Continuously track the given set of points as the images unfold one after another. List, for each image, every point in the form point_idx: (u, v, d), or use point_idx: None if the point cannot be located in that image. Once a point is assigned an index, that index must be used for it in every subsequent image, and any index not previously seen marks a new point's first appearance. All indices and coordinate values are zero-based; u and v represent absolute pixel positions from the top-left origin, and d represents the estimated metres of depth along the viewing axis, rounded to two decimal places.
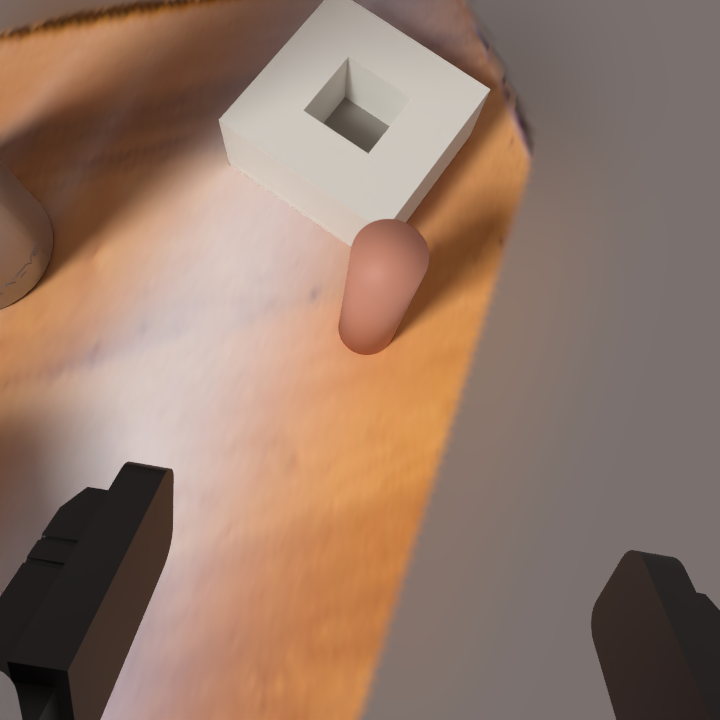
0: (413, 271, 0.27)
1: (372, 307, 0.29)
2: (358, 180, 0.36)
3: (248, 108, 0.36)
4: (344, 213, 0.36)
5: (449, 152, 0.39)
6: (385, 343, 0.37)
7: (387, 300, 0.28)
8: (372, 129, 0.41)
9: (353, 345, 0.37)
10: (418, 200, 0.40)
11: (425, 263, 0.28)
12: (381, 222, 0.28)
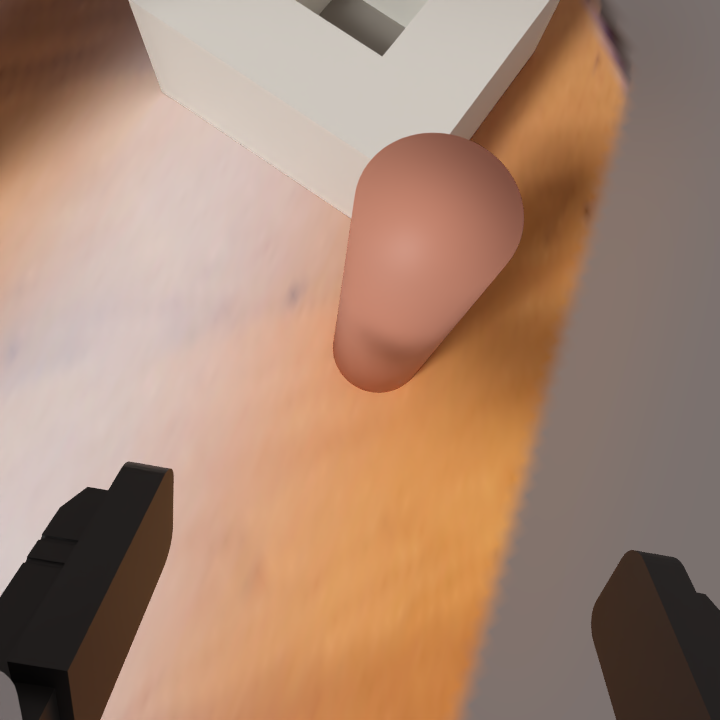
0: (490, 242, 0.13)
1: (397, 320, 0.15)
2: (365, 101, 0.21)
3: None
4: (342, 158, 0.22)
5: (511, 65, 0.24)
6: (410, 376, 0.22)
7: (432, 307, 0.13)
8: (385, 36, 0.26)
9: (357, 379, 0.23)
10: None
11: (516, 227, 0.13)
12: (420, 141, 0.13)
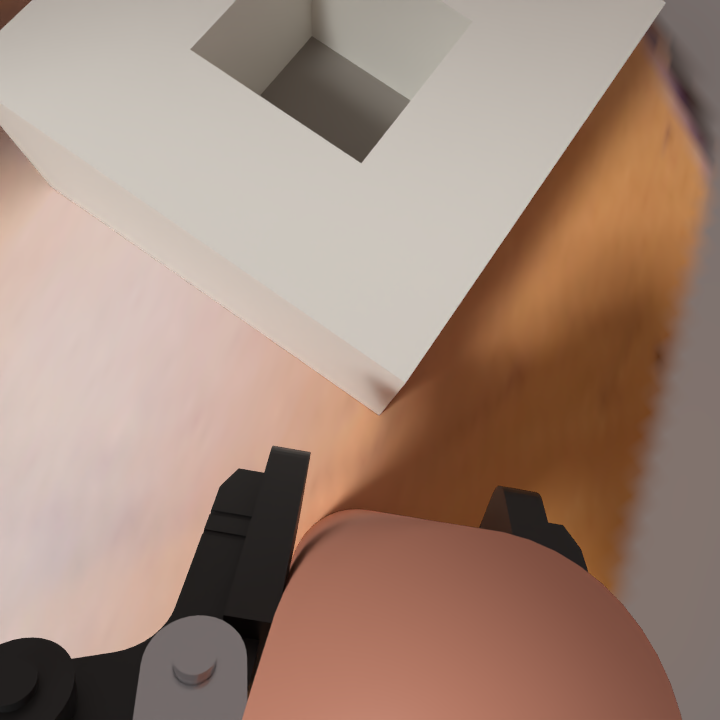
0: None
1: None
2: (333, 238, 0.13)
3: (41, 42, 0.14)
4: (298, 322, 0.14)
5: None
6: None
7: None
8: (372, 107, 0.18)
9: None
10: None
11: None
12: (416, 555, 0.05)
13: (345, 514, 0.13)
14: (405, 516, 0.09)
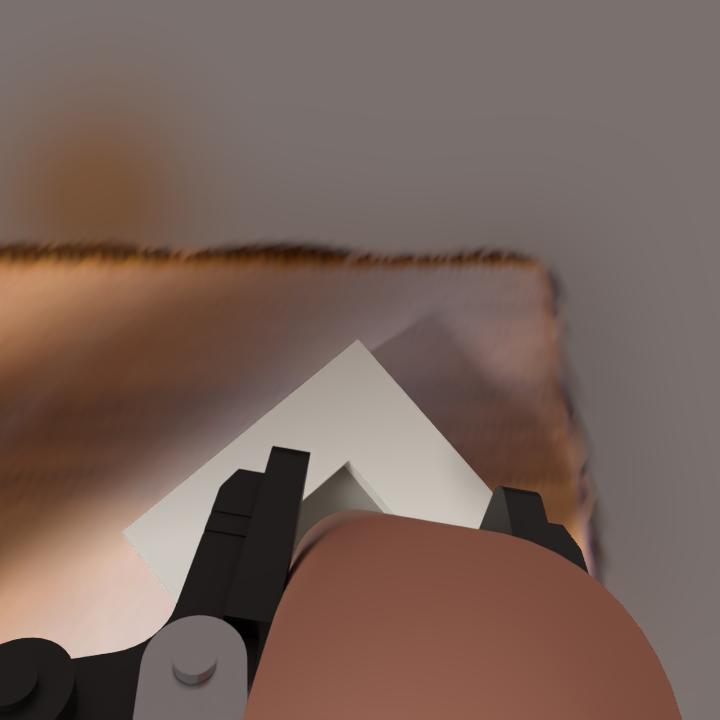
0: None
1: None
2: None
3: (172, 521, 0.23)
4: None
5: None
6: None
7: None
8: None
9: None
10: None
11: None
12: (417, 558, 0.05)
13: (345, 514, 0.13)
14: (405, 517, 0.09)
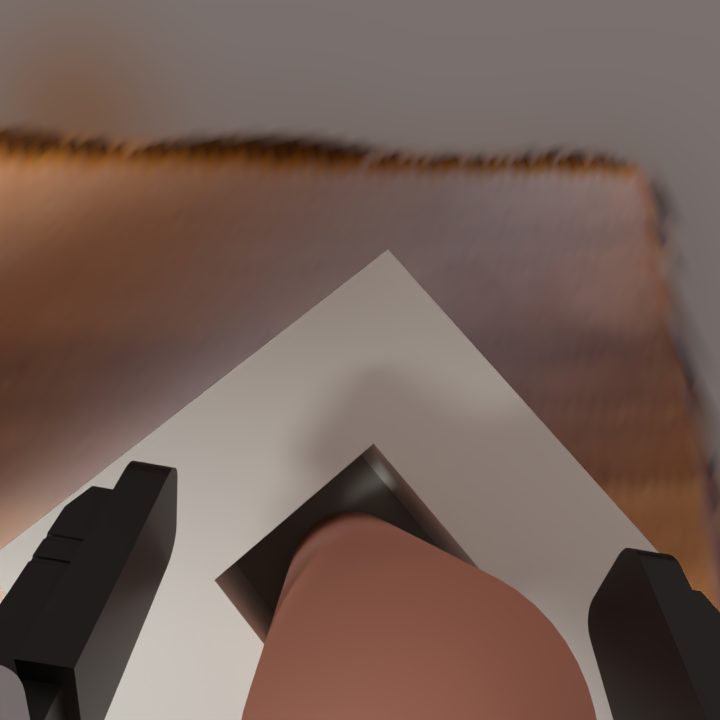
0: None
1: None
2: None
3: None
4: None
5: None
6: None
7: None
8: None
9: None
10: None
11: None
12: (384, 583, 0.06)
13: (340, 520, 0.14)
14: (388, 531, 0.10)
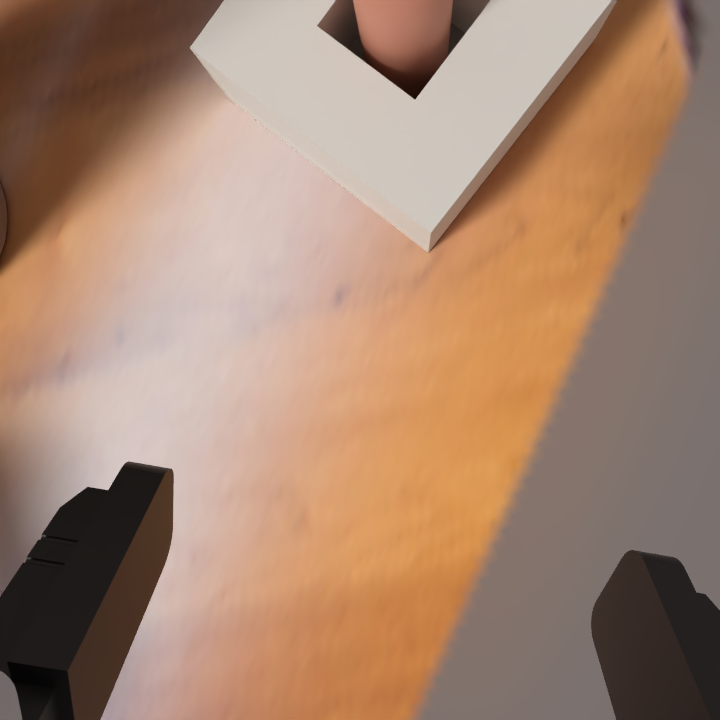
0: None
1: None
2: (395, 147, 0.23)
3: (233, 25, 0.24)
4: (376, 196, 0.24)
5: (552, 83, 0.24)
6: (436, 70, 0.25)
7: None
8: None
9: None
10: (497, 159, 0.26)
11: None
12: None
13: None
14: None
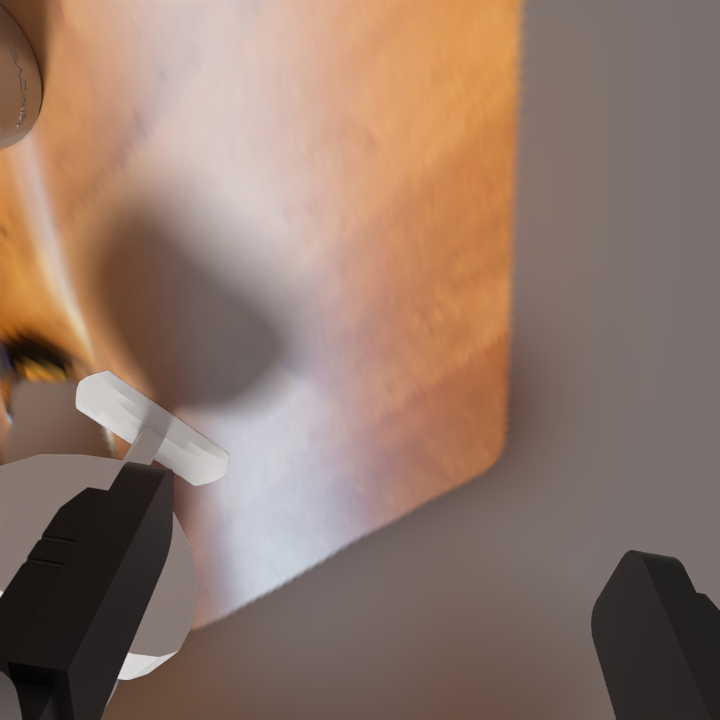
0: None
1: None
2: None
3: None
4: None
5: None
6: None
7: None
8: None
9: None
10: None
11: None
12: None
13: None
14: None
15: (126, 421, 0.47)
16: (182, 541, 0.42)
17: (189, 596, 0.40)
